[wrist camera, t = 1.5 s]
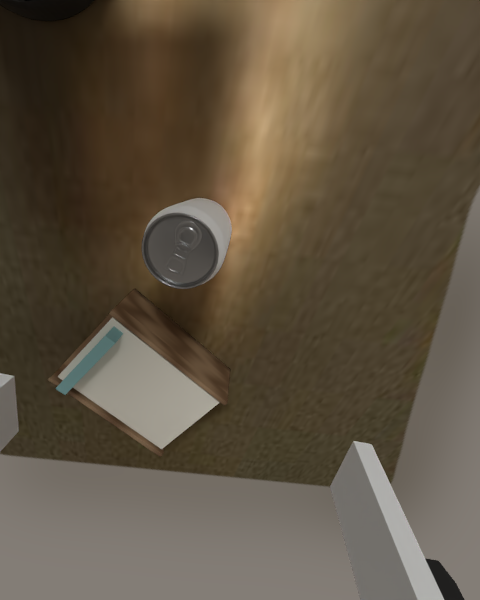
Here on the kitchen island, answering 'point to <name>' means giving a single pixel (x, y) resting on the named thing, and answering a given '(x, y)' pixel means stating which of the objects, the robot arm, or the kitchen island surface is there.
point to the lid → (136, 385)
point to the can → (187, 243)
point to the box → (168, 344)
